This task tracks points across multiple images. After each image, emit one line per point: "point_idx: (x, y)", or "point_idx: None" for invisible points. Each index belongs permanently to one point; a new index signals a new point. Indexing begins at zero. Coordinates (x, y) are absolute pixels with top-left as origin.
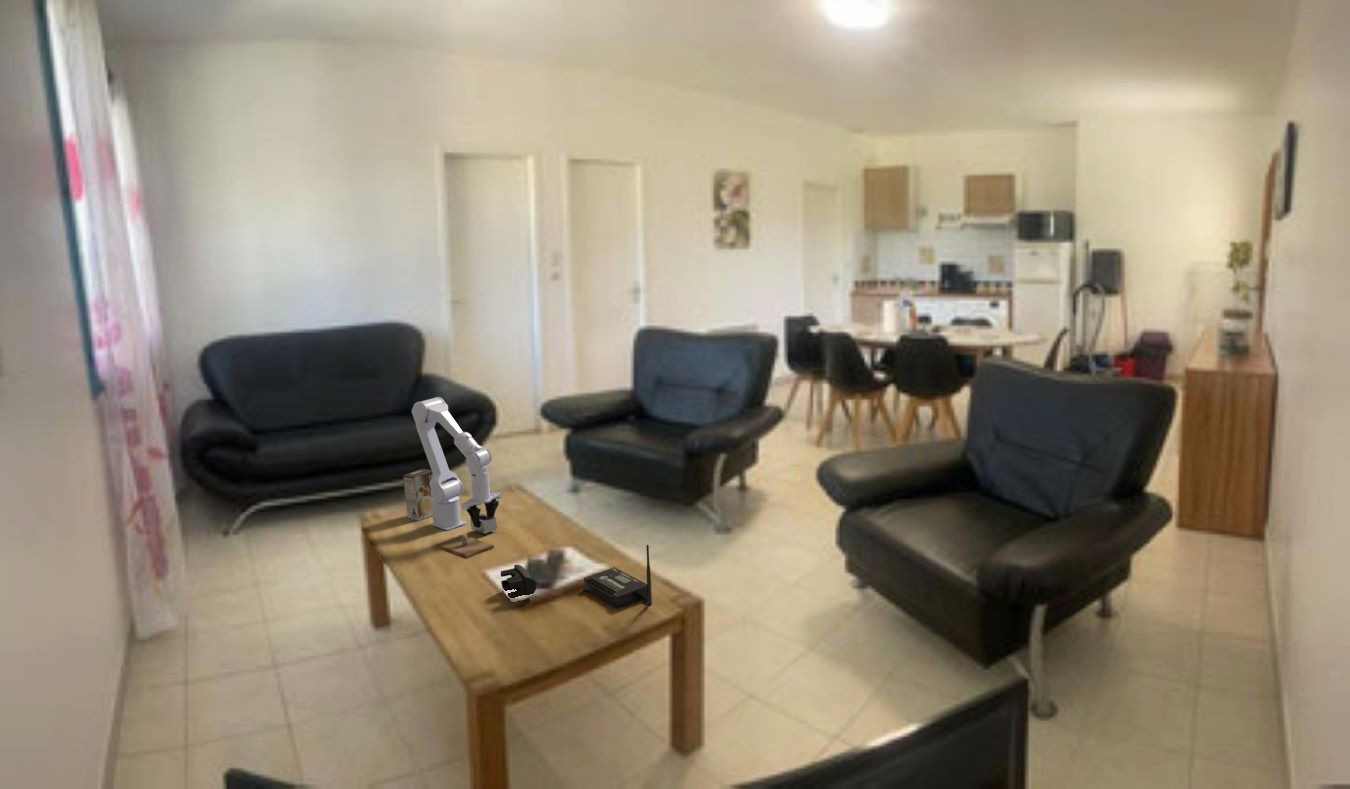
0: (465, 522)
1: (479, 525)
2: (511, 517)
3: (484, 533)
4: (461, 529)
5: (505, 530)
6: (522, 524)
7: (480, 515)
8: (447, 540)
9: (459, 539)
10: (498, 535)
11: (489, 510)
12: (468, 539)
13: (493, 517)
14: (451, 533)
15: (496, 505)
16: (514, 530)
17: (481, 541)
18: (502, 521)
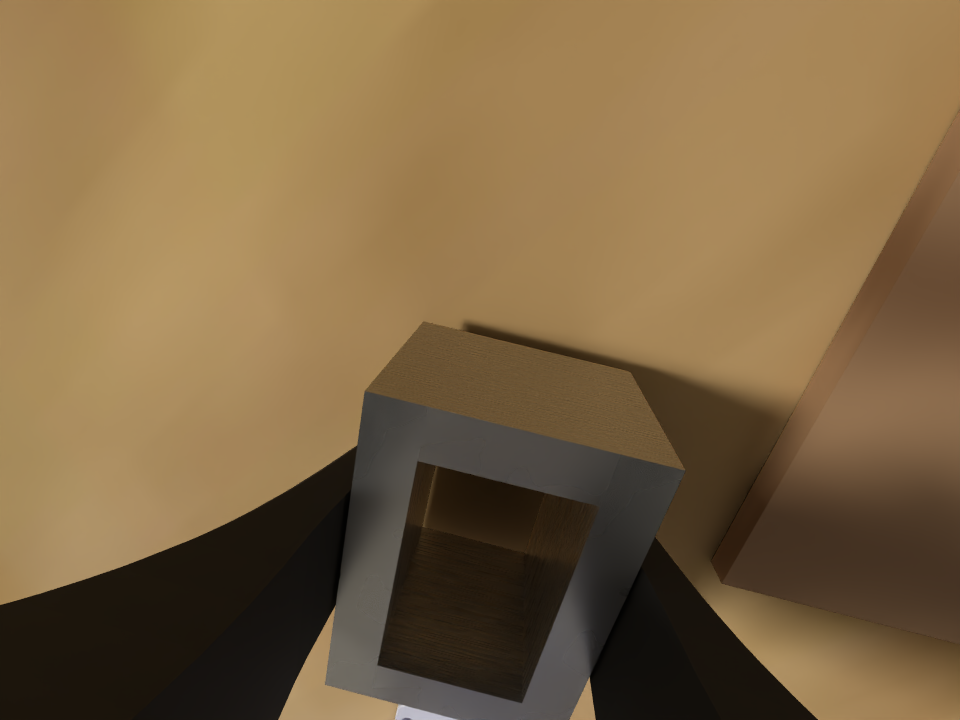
0: (405, 709)
1: None
2: (37, 429)
3: (630, 372)
4: None
5: (344, 234)
6: (70, 155)
7: (408, 676)
8: (944, 635)
9: (896, 540)
10: (531, 201)
11: (279, 649)
12: (880, 444)
13: (375, 444)
14: None
15: (36, 641)
16: (279, 104)
17: (944, 216)
18: (167, 447)
